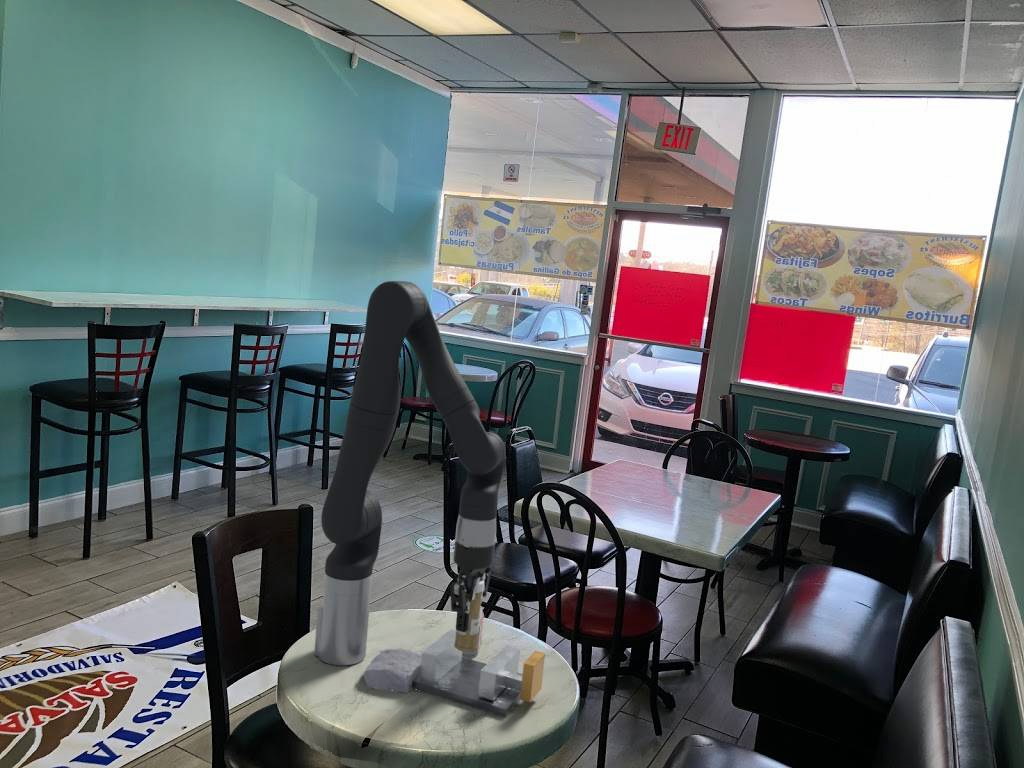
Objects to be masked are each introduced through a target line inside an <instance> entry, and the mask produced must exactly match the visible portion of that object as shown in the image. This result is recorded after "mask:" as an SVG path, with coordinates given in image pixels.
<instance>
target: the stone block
mask: <svg viewBox="0 0 1024 768" xmlns="http://www.w3.org/2000/svg"><path fill="white" fill-rule="evenodd" d="M421 661H422V653H420V652H417V651H413V650H410V649H406V648H401V647H400V648H399V647H398V648H389V649H384V650H382V651H380V652H379V654H377V655H376V656H375V657H374V658H372V660H371V661H370V662H369V664H367V666H366V668H365V670H364V673H363V678H364V683H365V685H366V686H367V687H369V688H372V689H375V688H376V690H381V689H383V691H389V690H393V691H396V692H395V693H401V692H403V693H402V694H408V693H409V692H410V691H411V689H412V681H413V680H414V679H415V678H416V677H418V676H419V675H420V672H421ZM409 690H410V691H409ZM381 691H382V690H381ZM393 691H392V692H393Z"/></svg>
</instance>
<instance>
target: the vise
mask: <svg viewBox="0 0 1024 768" xmlns="http://www.w3.org/2000/svg"><path fill="white" fill-rule="evenodd" d="M455 639H456V629H455V630H454V629H449V630H448V631H447V632H446V633H445V634H443V635H442V636H441V637H439V638H438V639H437V640H436V641H434V642H433V643H432V644H430V645H429V646H428V647H427V648H426V649H424V650H423V651H422V653H421V654H422V661H421V672H420V675H419V676H418V677H416V678H415V679H414V680H413V681H412V688H413V689H412V688H411V689H412V690H415V689H417V690H416V691H419V690H420V691H419V692H422V691H423V693H425V692H426V694H428V693H429V695H432V696H435V697H438V698H442V699H446V700H448V701H451V702H454V703H458V704H461V705H464V706H467V707H471V708H474V709H478V710H481V711H484V712H488V713H490V714H494V715H498V716H501V717H504V718H507V716H508V715H509V714H510V713H511V711H512V710H513V709H514V708H515V707H516V706H517V704H518V703H519V702H520V701H521V700H520V694H521V691H518V690H514V689H511V688H508V687H505V688H504V689H503V691H502V692H501V693H500V694H499V695H498V696H497V697H496V698H495V699H494V701H493V700H489V699H486V698H483V697H480V696H478V694H479V684H480V674H481V669H482V668H483V667H484V666H486V665H487V664H488V663H484V662H481V661H477V660H474V659H470V658H467V657H463V654H462V651H460V650H458V649H456V648H455V646H454V643H455ZM518 675H522V676H523V673H519V672H518Z"/></svg>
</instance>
